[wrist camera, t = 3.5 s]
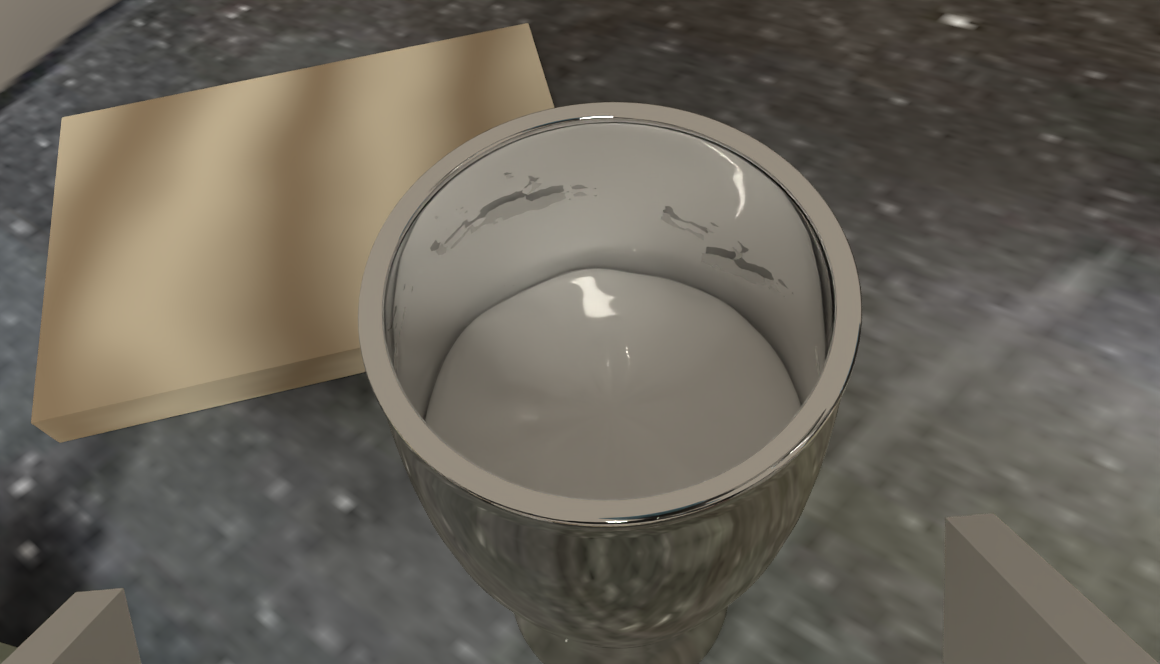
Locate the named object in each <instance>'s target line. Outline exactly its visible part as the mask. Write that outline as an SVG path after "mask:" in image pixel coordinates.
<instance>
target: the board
mask: <svg viewBox="0 0 1160 664" xmlns="http://www.w3.org/2000/svg"><path fill="white" fill-rule="evenodd" d="M551 108H554V105H553V101H552V98H551V95H550V92H549V89H548V85H547V82H546V79H545V76H544V73H543V69H542V66H541V63H540V60H539V56H538V53H537V50H536V47H535V44H534V40H533V37H532V34H531V31H530V28H529V24H528V23H526V24H521V25H516V26H511V27H506V28H501V29H496V30H491V31H486V32H481V33H476V34H472V35H467V36H462V37H457V38H452V39H447V40H442V41H437V42H432V43H427V44H422V45H417V46H412V47H408V48H403V49H398V50H393V51H388V52H383V53H378V54H373V55H368V56H363V57H358V58H353V59H348V60H344V61H339V62H334V63H329V64H324V65H319V66H314V67H309V68H304V69H299V70H294V71H289V72H284V73H280V74H275V75H270V76H265V77H260V78H255V79H250V80H245V81H240V82H235V83H230V84H225V85H220V86H216V87H211V88H206V89H201V90H196V91H191V92H186V93H181V94H176V95H171V96H166V97H161V98H156V99H152V100H147V101H142V102H137V103H132V104H127V105H122V106H117V107H112V108H107V109H102V110H97V111H92V112H88V113H83V114H78V115H73V116H68V117H63V118H62V122H61V132H60V142H59V152H58V162H57V171H56V181H55V191H54V201H53V211H52V221H51V231H50V241H49V251H48V260H47V270H46V280H45V290H44V300H43V310H42V320H41V330H40V339H39V349H38V359H37V369H36V379H35V389H34V399H33V409H32V419H31V423H32V424H33V425H35V426H36V427H38V428H39V429H41V430H42V431H43V432H45V433H46V434H48V435H49V436H51V437H52V438H53V439H55V440H56V441H58V442H59V443H61V442H65V441H69V440H73V439H78V438H82V437H86V436H91V435H95V434H99V433H104V432H108V431H112V430H117V429H121V428H125V427H130V426H134V425H138V424H143V423H147V422H151V421H156V420H160V419H164V418H169V417H173V416H177V415H182V414H186V413H190V412H194V411H199V410H203V409H207V408H212V407H216V406H220V405H225V404H229V403H233V402H238V401H242V400H246V399H251V398H255V397H259V396H264V395H268V394H272V393H277V392H281V391H285V390H290V389H294V388H298V387H303V386H307V385H311V384H316V383H320V382H324V381H328V380H333V379H337V378H341V377H346V376H350V375H354V374H359V373H363V372H365V368H364V364H363V360H362V356H361V350H360V344H359V335H358V301H359V293H360V287H361V281H362V277H363V273H364V269H365V266H366V263H367V259H368V257H369V254H370V251H371V249H372V246H373V244H374V242H375V239H376V237H377V235H378V233H379V231H380V230H381V228H382V226H383V224H384V223H385V221H386V219H387V218H388V216H389V214H390V213H391V211H392V210H393V209H394V207H395V206H396V204H397V203H398V202H399V201H400V199H401V198H402V197H403V195H404V194H405V193H406V192H407V191H408V190H409V188H410V187H411V186H412V185H413V184H414V183H415V182H416V181H417V180H418V179H419V178H420V177H421V176H422V175H423V174H424V173H425V172H426V171H427V170H428V169H430V168H431V167H432V166H433V165H434V164H435V163H437V162H438V161H439V160H440V159H442V158H443V157H444V156H446V155H447V154H448V153H450V152H451V151H453V150H454V149H456V148H457V147H459V146H460V145H462V144H463V143H465V142H467V141H468V140H470V139H472V138H474V137H475V136H477V135H479V134H481V133H483V132H485V131H487V130H489V129H491V128H494V127H496V126H498V125H500V124H503V123H505V122H508V121H511V120H513V119H516V118H519V117H522V116H525V115H528V114H531V113H535V112H539V111H543V110H547V109H551Z"/></svg>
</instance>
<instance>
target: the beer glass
mask: <svg viewBox="0 0 1160 664" xmlns="http://www.w3.org/2000/svg"><path fill="white" fill-rule="evenodd" d="M861 328H862V296H861V287H860V281H859V276H858V271H857V267H856V263H855V259H854V256H853V253H852V250H851V248H850V245H849V243H848V240H847V238H846V236H845V234H844V231H843V229H842V227H841V226H840V224H839V222H838V220H837V218H836V217H835V215H834V213H833V212H832V210H831V209H830V207H829V206H828V204H827V203H826V202H825V200H824V199H823V198H822V196H821V195H820V194H819V192H818V191H817V190H816V189H815V188H814V187H813V185H812V184H811V183H810V182H809V181H808V180H807V179H806V178H805V177H804V176H803V175H802V174H801V173H800V172H799V171H798V170H797V169H796V168H795V167H793V166H792V165H791V164H790V163H789V162H788V161H786V160H785V159H784V158H783V157H781V156H780V155H779V154H777V153H776V152H775V151H773V150H772V149H770V148H769V147H767V146H766V145H764V144H763V143H761V142H760V141H758V140H756V139H755V138H753V137H751V136H749V135H747V134H745V133H743V132H742V131H740V130H738V129H735V128H733V127H731V126H729V125H726V124H724V123H722V122H719V121H717V120H714V119H711V118H709V117H705V116H702V115H699V114H696V113H692V112H689V111H685V110H681V109H676V108H671V107H666V106H660V105H653V104H645V103H632V102H595V103H583V104H575V105H568V106H562V107H556V108H551V109H547V110H543V111H539V112H535V113H531V114H528V115H525V116H522V117H519V118H516V119H513V120H511V121H508V122H505V123H503V124H500V125H498V126H496V127H494V128H491V129H489V130H487V131H485V132H483V133H481V134H479V135H477V136H475V137H474V138H472V139H470V140H468V141H467V142H465V143H463V144H462V145H460V146H459V147H457V148H456V149H454V150H453V151H451V152H450V153H448V154H447V155H446V156H444V157H443V158H442V159H440V160H439V161H438V162H437V163H435V164H434V165H433V166H432V167H431V168H430V169H428V170H427V171H426V172H425V173H424V174H423V175H422V176H421V177H420V178H419V179H418V180H417V181H416V182H415V183H414V184H413V185H412V186H411V187H410V188H409V190H408V191H407V192H406V193H405V194H404V195H403V197H402V198H401V199H400V201H399V202H398V203H397V204H396V206H395V207H394V209H393V210H392V211H391V213H390V214H389V216H388V218H387V219H386V221H385V223H384V224H383V226H382V228H381V230H380V231H379V233H378V235H377V237H376V239H375V242H374V244H373V246H372V249H371V251H370V254H369V257H368V259H367V263H366V266H365V269H364V273H363V277H362V281H361V287H360V293H359V301H358V335H359V344H360V350H361V356H362V360H363V364H364V368H365V372H366V375H367V378H368V380H369V383H370V386H371V388H372V391H373V393H374V395H375V397H376V400H377V402H378V404H379V405H380V407H381V409H382V411H383V413H384V414H385V416H386V418H387V421H388V424H389V427H390V430H391V433H392V435H393V438H394V441H395V444H396V447H397V449H398V452H399V454H400V457H401V459H402V462H403V464H404V467H405V470H406V472H407V475H408V477H409V479H410V482H411V484H412V486H413V488H414V490H415V492H416V494H417V496H418V498H419V500H420V502H421V504H422V506H423V508H424V509H425V511H426V513H427V515H428V517H429V519H430V521H431V523H432V525H433V526H434V528H435V530H436V531H437V533H438V535H439V536H440V538H441V539H442V540H443V542H444V543H445V545H446V546H447V547H448V549H449V550H450V551H451V552H452V554H453V555H454V556H455V558H456V559H457V560H458V562H459V563H460V564H461V565H462V567H463V568H464V569H465V571H466V572H467V573H468V574H469V575H470V577H471V578H472V579H473V580H474V581H475V582H476V583H477V584H478V585H479V586H480V587H481V588H482V589H483V590H484V591H485V592H486V593H487V594H489V595H490V596H491V597H492V598H493V599H495V600H496V601H497V602H499V603H500V604H501V605H503V606H504V607H506V608H507V609H509V610H510V611H512V612H513V613H514V615H515V619H516V622H517V624H518V627H519V629H520V631H521V633H522V635H523V637H524V639H525V641H526V642H527V644H528V646H529V647H530V648H531V650H532V651H533V653H534V654H535V655H536V656H537V657H538V659H539V660H540V661H541V662H542V663H543V664H699V663H700V662H701V661H702V659H703V658H704V657H705V656H706V655H707V653H708V652H709V651H710V649H711V648H712V646H713V644H714V643H715V641H716V639H717V637H718V635H719V633H720V631H721V629H722V626H723V623H724V620H725V617H726V613H727V609H728V606H729V605H730V604H731V603H732V602H734V601H735V600H736V599H737V598H739V597H740V596H741V595H742V594H743V593H744V592H746V591H747V590H748V589H749V588H750V587H751V586H752V585H753V584H754V583H755V582H756V581H757V580H758V579H759V578H760V576H761V575H762V574H763V573H764V572H765V571H766V569H767V568H768V567H769V565H770V564H771V563H772V561H773V560H774V558H775V557H776V555H777V554H778V552H779V551H780V549H781V548H782V546H783V545H784V543H785V541H786V540H787V538H788V537H789V535H790V534H791V532H792V530H793V529H794V527H795V525H796V524H797V522H798V520H799V518H800V516H801V514H802V512H803V510H804V508H805V506H806V503H807V501H808V498H809V496H810V494H811V491H812V489H813V486H814V484H815V482H816V479H817V477H818V474H819V472H820V469H821V466H822V463H823V460H824V457H825V454H826V451H827V447H828V444H829V441H830V437H831V434H832V431H833V427H834V424H835V420H836V416H837V412H838V408H839V404H840V400H841V397H842V395H843V393H844V391H845V389H846V387H847V384H848V382H849V379H850V377H851V374H852V371H853V368H854V365H855V361H856V357H857V353H858V349H859V344H860V337H861Z"/></svg>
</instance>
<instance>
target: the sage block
mask: <svg viewBox="0 0 1160 664" xmlns="http://www.w3.org/2000/svg"><path fill="white" fill-rule="evenodd" d="M16 649H17V647H14V646H10V645H7V644H4V643H1V642H0V664H1V663H2V662H3V661H4V660H6V659H7V658H8V657H9V656H10V655H11V654H12V653H13V652H14V651H15V650H16Z"/></svg>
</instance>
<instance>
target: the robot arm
mask: <svg viewBox="0 0 1160 664" xmlns="http://www.w3.org/2000/svg"><path fill="white" fill-rule="evenodd" d="M1 664H141V661H140V656H139V652H138V648H137V643H136V639H135V635H134V631H133V626H132V622H131V618H130V614H129V609H128V605H127V601H126V597H125V592H124V588H119V589H108V590H96V591H84V592H75V593H74V594H73V595H72V596H71V597H70V598H69V599H68V600H67V601H66V602H65V603H64V604H63V605H62V606H61V607H60V608H59V609H58V610H57V611H56V612H55V613H54V614H53V615H51V616H50V617H49V618H48V619H47V620H46V621H45V622H44V623H43V624H42V625H41V626H40V627H39V628H38V629H37V630H36V631H35V632H34V633H33V634H32V635H31V636H30V637H28V638H27V639H26V640H25V641H24V642H23V643H22V644H21V645H20V646H19V647H18V648H17V649H16V650H15V651H14V652H13V653H12V654H11V655H10V656H9V657H8V658H7V659H6V660H4V661H3V662H2V663H1ZM943 664H1159V663H1158V662H1156V661H1155V660H1154V659H1153V658H1152V657H1151V656H1150V655H1149V654H1148V653H1147V652H1145V651H1144V650H1143V649H1142V648H1141V647H1140V646H1139V645H1138V644H1137V643H1136V642H1134V641H1133V640H1132V639H1131V638H1130V637H1129V636H1128V635H1127V634H1126V633H1125V632H1123V631H1122V630H1121V629H1120V628H1119V627H1118V626H1117V625H1116V624H1115V623H1114V622H1113V621H1111V620H1110V619H1109V618H1108V617H1107V616H1106V615H1105V614H1104V613H1103V612H1102V611H1100V610H1099V609H1098V608H1097V607H1096V606H1095V605H1094V604H1093V603H1092V602H1091V601H1089V600H1088V599H1087V598H1086V597H1085V596H1084V595H1083V594H1082V593H1081V592H1080V591H1078V590H1077V589H1076V588H1075V587H1074V586H1073V585H1072V584H1071V583H1070V582H1069V581H1067V580H1066V579H1065V578H1064V577H1063V576H1062V575H1061V574H1060V573H1059V572H1058V571H1056V570H1055V569H1054V568H1053V567H1052V566H1051V565H1050V564H1049V563H1048V562H1047V561H1045V560H1044V559H1043V558H1042V557H1041V556H1040V555H1039V554H1038V553H1037V552H1036V551H1034V550H1033V549H1032V548H1031V547H1030V546H1029V545H1028V544H1027V543H1026V542H1025V541H1023V540H1022V539H1021V538H1020V537H1019V536H1018V535H1017V534H1016V533H1015V532H1014V531H1012V530H1011V529H1010V528H1009V527H1008V526H1007V525H1006V524H1005V523H1004V522H1003V521H1001V520H1000V519H999V518H998V517H997V516H996V515H995V514H994V513H991V514H979V515H967V516H956V517H945V571H944V632H943Z"/></svg>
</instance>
